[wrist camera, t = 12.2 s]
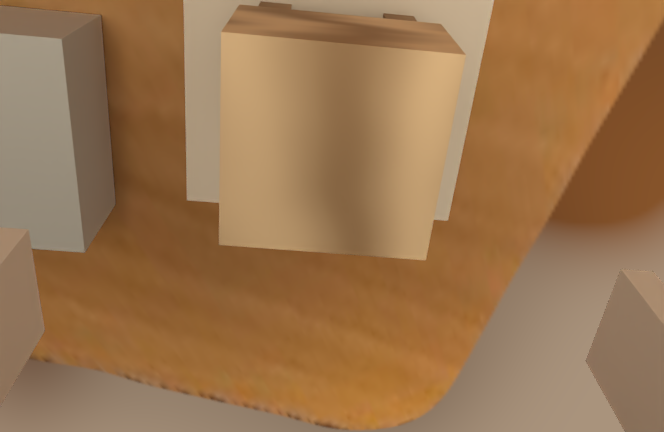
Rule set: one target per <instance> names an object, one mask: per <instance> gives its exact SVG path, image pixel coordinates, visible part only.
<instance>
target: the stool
mask: <svg viewBox="0 0 664 432" xmlns="http://www.w3.org/2000/svg"><path fill="white" fill-rule="evenodd" d="M291 7H292V4H283V3H272V2H262V1H261V2H260V4H259V6H251V5H240V4H239V6H238V7H237V9H236V10H235V12H234V13H233V15H232V16H231V18H230V19H229V21H228V22H227V24H226V25H225V27H224V28H223V30H222V31H221V86H220V180H219V245H227V246H240V247H253V248H267V249H280V250H294V251H307V252H320V253H334V254H347V255H361V256H374V257H387V258H401V259H414V260H426V257H427V251H428V246H429V241H430V236H431V231H432V226H433V221H434V216H435V211H436V206H437V201H438V196H439V191H440V185H441V180H442V175H443V170H444V165H445V160H446V155H447V150H448V145H449V140H450V135H451V130H452V124H453V119H454V114H455V109H456V104H457V99H458V94H459V89H460V84H461V79H462V74H463V69H464V63H465V58H466V54H465V53H464V52H463V50H462V49H461V48H460V47H459V45H458V44H457V43H456V42H455V41H454V39H453V38H452V37H451V36H450V34H449V33H448V32H447V31H446V29H445V28H444V27H443V26H442V25H441V24H438V23H427V22H417V20H416V19H415V17H414V16H407V15H396V14H386V13H383V18H375V17H365V16H354V15H344V14H334V13H323V12H313V11H303V10H292V9H291Z"/></svg>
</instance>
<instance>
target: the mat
mask: <svg viewBox="0 0 664 432" xmlns="http://www.w3.org/2000/svg"><path fill="white" fill-rule="evenodd" d="M183 1H184V60H185V118H186V177H187V200H189V201H202V202H215V203H219V180H220V86H221V31H222V30H223V28H224V27H225V25H226V24H227V22H228V21H229V19H230V18H231V16H232V15H233V13H234V12H235V10H236V9H237V7H238V6H239V4H240V5H251V6H259V4H260V2H261V1H262V2H272V3H283V4H292V7H291V9H292V10H303V11H313V12H323V13H334V14H344V15H354V16H365V17H375V18H383V13H386V14H396V15H407V16H414V17H415V19H416V20H417V22H427V23H438V24H441V25H442V26H443V27H444V28H445V29H446V31H447V32H448V33H449V34H450V36H451V37H452V38H453V39H454V41H455V42H456V43H457V44H458V45H459V47H460V48H461V49H462V50H463V52H464V53H465V54H466V58H465V63H464V69H463V74H462V79H461V84H460V89H459V94H458V99H457V104H456V109H455V114H454V119H453V124H452V130H451V135H450V140H449V145H448V150H447V155H446V160H445V165H444V170H443V175H442V180H441V185H440V191H439V196H438V201H437V206H436V211H435V216H434V220H445V221H448V218H449V213H450V208H451V204H452V199H453V194H454V189H455V185H456V180H457V175H458V170H459V165H460V161H461V156H462V151H463V146H464V142H465V137H466V132H467V127H468V123H469V118H470V113H471V108H472V103H473V99H474V94H475V89H476V84H477V80H478V75H479V70H480V65H481V60H482V56H483V51H484V46H485V41H486V37H487V32H488V27H489V22H490V17H491V13H492V8H493V3H494V0H183Z"/></svg>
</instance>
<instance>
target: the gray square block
mask: <svg viewBox="0 0 664 432" xmlns="http://www.w3.org/2000/svg"><path fill="white" fill-rule="evenodd" d="M115 205H116V200H115V188H114V175H113V162H112V149H111V136H110V123H109V111H108V98H107V85H106V72H105V59H104V46H103V34H102V21H101V15H97V14H86V13H76V12H65V11H54V10H44V9H33V8H23V7H12V6H1V5H0V227H2V228H17V229H29V235H30V241H31V247H32V249H42V250H55V251H69V252H83V253H85V252H86V250H87V248H88V247H89V245H90V244H91V242H92V241H93V239H94V237H95V236H96V234H97V233H98V231H99V230H100V228H101V227H102V225H103V223H104V222H105V220H106V219H107V217H108V216H109V214H110V212H111V211H112V209H113V208H114V206H115Z"/></svg>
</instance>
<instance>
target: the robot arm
mask: <svg viewBox="0 0 664 432" xmlns="http://www.w3.org/2000/svg"><path fill="white" fill-rule="evenodd" d="M44 331H45V328H44V322H43V315H42V309H41V303H40V297H39V291H38V284H37V278H36V272H35V266H34V260H33V253H32V247H31V241H30V235H29V229H17V228H2V227H0V406H1V405H2V403H3V401H4V399H5V398H6V396H7V395H8V393H9V391H10V389H11V388H12V386H13V384H14V383H15V381H16V379H17V377H18V376H19V374H20V372H21V370H22V369H23V367H24V365H25V364H26V362H27V360H28V359H29V357H30V355H31V353H32V352H33V350H34V348H35V347H36V345H37V343H38V341H39V340H40V338H41V336H42V335H43V333H44ZM586 362H587V364H588V366H589V368H590V370H591V371H592V373H593V375H594V377H595V378H596V380H597V382H598V384H599V386H600V388H601V389H602V391H603V393H604V395H605V396H606V399H607V400H608V402H609V404H610V406H611V408H612V409H613V411H614V413H615V415H616V416H617V418H618V420H619V422H620V424H621V425H622V427H623V429H624V431H625V432H664V284H663V282H662V281H661V280H660V279H659V278H658V276H657V275H656V274H655V273H654V272H653V271H641V270H626V269H621V270H620V272H619V275H618V278H617V280H616V283H615V286H614V288H613V291H612V293H611V296H610V299H609V301H608V304H607V306H606V309H605V312H604V314H603V317H602V320H601V322H600V325H599V328H598V330H597V333H596V335H595V338H594V340H593V343H592V346H591V348H590V351H589V354H588V356H587V359H586Z"/></svg>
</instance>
